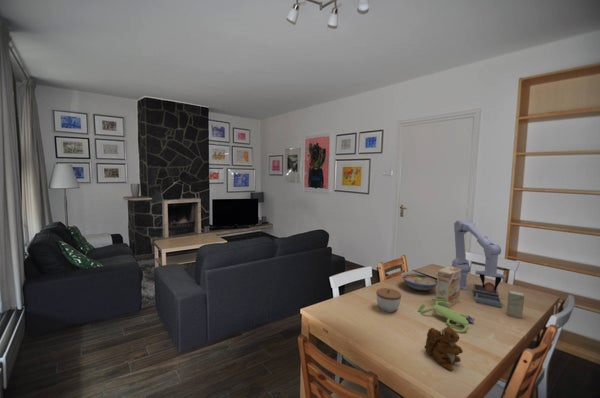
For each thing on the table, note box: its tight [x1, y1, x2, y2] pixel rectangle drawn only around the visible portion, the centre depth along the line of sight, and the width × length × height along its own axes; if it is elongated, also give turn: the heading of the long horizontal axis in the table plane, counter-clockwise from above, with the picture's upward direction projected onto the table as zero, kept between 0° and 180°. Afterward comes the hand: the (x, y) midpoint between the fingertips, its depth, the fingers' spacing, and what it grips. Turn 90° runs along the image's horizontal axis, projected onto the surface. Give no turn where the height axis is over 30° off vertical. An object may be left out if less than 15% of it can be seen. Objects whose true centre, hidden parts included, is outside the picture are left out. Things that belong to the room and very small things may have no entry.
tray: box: [475, 293, 503, 309], centre depth 164 cm, size 12×9×2 cm
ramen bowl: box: [400, 269, 438, 292], centre depth 182 cm, size 25×23×8 cm
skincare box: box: [505, 290, 525, 319], centre depth 148 cm, size 6×4×12 cm
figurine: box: [417, 297, 475, 334], centre depth 145 cm, size 18×27×6 cm
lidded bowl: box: [376, 287, 402, 313], centre depth 153 cm, size 13×13×11 cm
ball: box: [484, 281, 495, 291], centre depth 163 cm, size 5×5×5 cm
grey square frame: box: [472, 283, 500, 298], centre depth 175 cm, size 13×13×4 cm
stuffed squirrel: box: [423, 325, 463, 371], centre depth 112 cm, size 10×14×13 cm
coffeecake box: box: [435, 265, 461, 309], centre depth 162 cm, size 15×7×20 cm, turn 129°
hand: (489, 288), depth 163 cm, fingers closed on ball, 5 cm apart
